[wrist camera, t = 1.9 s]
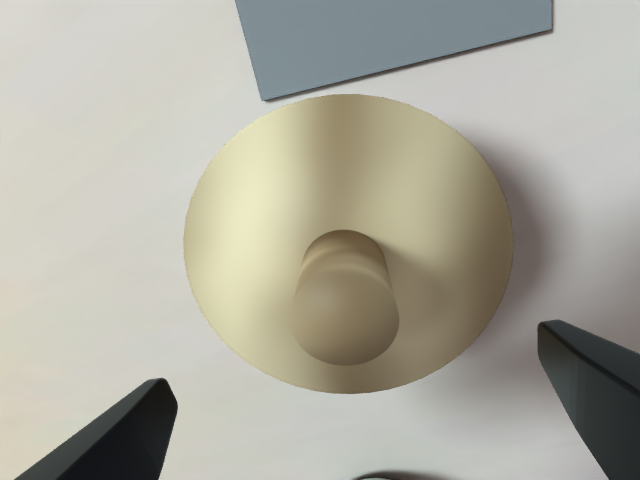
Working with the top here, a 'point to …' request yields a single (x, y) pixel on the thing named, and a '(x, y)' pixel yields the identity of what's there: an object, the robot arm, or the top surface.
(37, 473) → the robot arm
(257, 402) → the top surface
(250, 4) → the mat
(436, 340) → the lid
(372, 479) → the pump dispenser
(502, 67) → the top surface
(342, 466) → the top surface
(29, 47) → the top surface
